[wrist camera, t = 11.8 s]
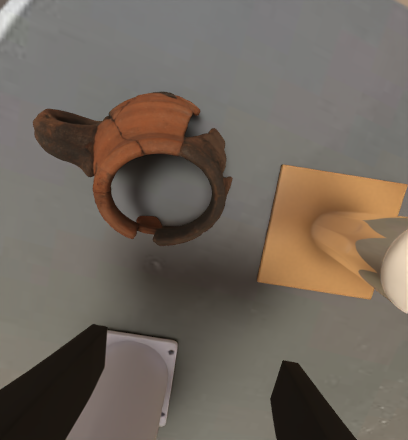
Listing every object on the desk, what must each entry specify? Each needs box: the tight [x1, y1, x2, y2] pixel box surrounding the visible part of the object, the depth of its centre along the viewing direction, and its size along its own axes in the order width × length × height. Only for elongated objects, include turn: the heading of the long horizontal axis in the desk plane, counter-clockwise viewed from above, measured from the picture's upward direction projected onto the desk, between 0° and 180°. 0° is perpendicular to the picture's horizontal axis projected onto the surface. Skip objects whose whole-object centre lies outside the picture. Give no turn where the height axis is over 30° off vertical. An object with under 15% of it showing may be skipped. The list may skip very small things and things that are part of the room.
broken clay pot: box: [33, 92, 232, 246], centre depth 14 cm, size 12×9×8 cm
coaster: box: [257, 165, 407, 299], centre depth 17 cm, size 10×10×1 cm
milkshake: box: [311, 211, 408, 314], centre depth 12 cm, size 5×5×10 cm
